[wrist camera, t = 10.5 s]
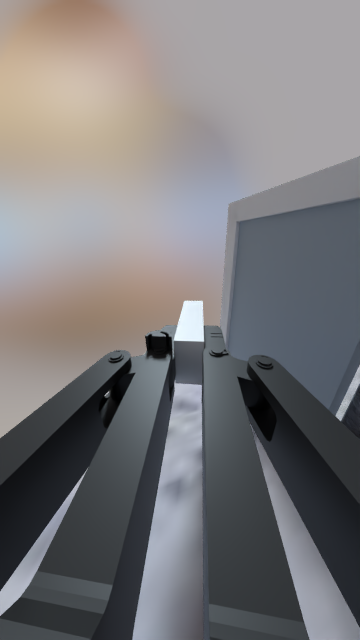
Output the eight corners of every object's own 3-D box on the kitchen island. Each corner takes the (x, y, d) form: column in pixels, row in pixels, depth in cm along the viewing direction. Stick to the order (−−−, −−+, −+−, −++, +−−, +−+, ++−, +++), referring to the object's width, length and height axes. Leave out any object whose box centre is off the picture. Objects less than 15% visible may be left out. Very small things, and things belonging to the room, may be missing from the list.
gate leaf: (333, 438, 13) (489, 129, 6) (314, 449, 12) (464, 118, 5) (230, 349, 23) (246, 204, 17) (218, 353, 23) (228, 203, 16)
